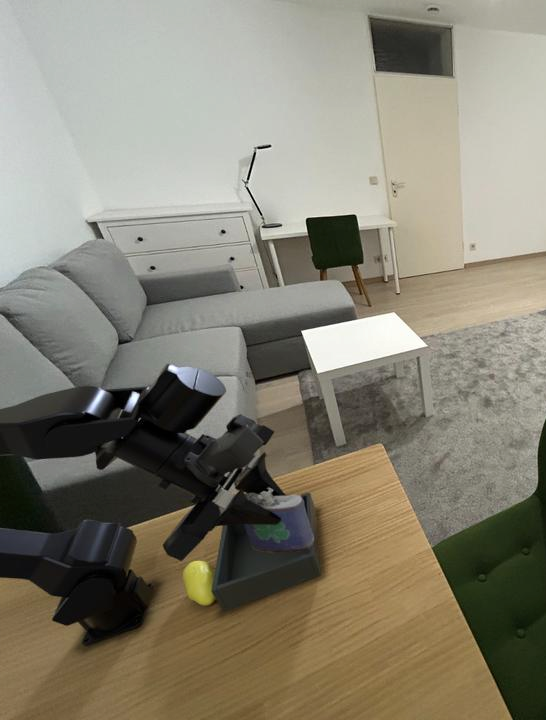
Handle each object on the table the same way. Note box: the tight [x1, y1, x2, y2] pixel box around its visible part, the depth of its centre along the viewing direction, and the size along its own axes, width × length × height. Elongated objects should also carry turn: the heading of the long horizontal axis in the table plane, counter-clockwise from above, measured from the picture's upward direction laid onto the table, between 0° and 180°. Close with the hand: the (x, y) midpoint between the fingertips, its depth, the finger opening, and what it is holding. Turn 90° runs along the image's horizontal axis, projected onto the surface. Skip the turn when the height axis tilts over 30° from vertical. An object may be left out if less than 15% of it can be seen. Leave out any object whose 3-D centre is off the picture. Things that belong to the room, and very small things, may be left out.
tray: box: [211, 492, 322, 612], centre depth 62 cm, size 13×13×5 cm
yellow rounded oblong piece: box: [182, 560, 217, 607], centre depth 57 cm, size 4×8×4 cm
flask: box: [244, 488, 314, 553], centre depth 55 cm, size 9×3×11 cm, turn 88°
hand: (283, 512), depth 54 cm, fingers closed on flask, 3 cm apart
